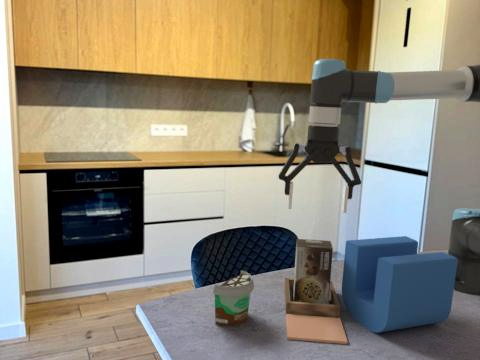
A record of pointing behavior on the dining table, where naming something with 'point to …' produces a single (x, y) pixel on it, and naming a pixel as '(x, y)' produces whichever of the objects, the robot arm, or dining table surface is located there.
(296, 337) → the terracotta tile
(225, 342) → the dining table surface
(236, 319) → the food container
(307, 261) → the coffee box
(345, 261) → the block
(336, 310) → the walnut frame
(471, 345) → the dining table surface
